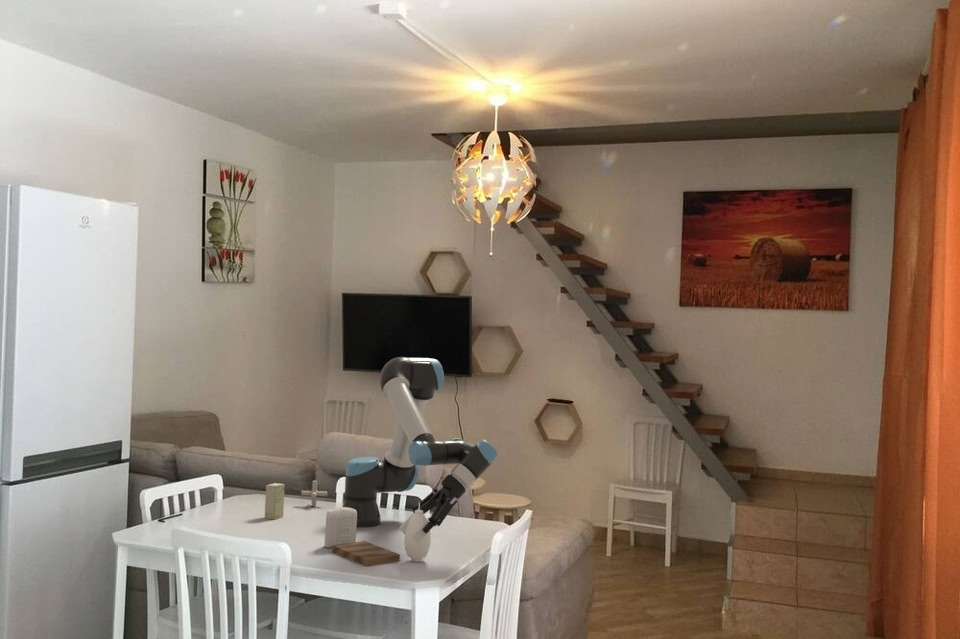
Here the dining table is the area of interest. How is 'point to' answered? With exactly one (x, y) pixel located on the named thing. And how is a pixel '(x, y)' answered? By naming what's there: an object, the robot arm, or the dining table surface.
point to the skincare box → (274, 501)
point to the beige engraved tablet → (340, 526)
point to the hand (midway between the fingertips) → (408, 535)
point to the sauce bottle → (411, 545)
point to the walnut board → (365, 553)
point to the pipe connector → (314, 493)
